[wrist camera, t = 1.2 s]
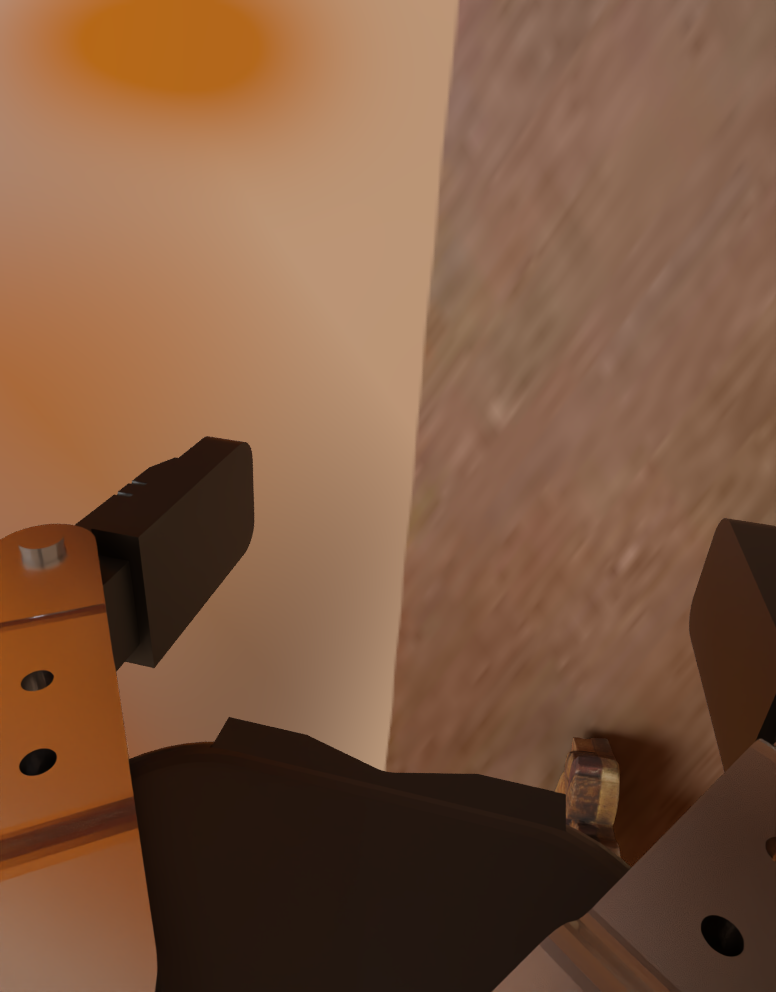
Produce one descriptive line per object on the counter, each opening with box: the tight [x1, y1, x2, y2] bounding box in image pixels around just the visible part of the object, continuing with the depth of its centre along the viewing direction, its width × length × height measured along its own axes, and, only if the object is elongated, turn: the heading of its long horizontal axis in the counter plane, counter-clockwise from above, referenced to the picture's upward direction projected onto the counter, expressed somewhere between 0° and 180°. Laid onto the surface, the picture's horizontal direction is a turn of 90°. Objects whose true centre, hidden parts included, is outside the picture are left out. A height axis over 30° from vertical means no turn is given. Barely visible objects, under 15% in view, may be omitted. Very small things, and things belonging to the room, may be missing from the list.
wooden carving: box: [555, 737, 621, 858], centre depth 45 cm, size 16×5×10 cm, turn 4°
